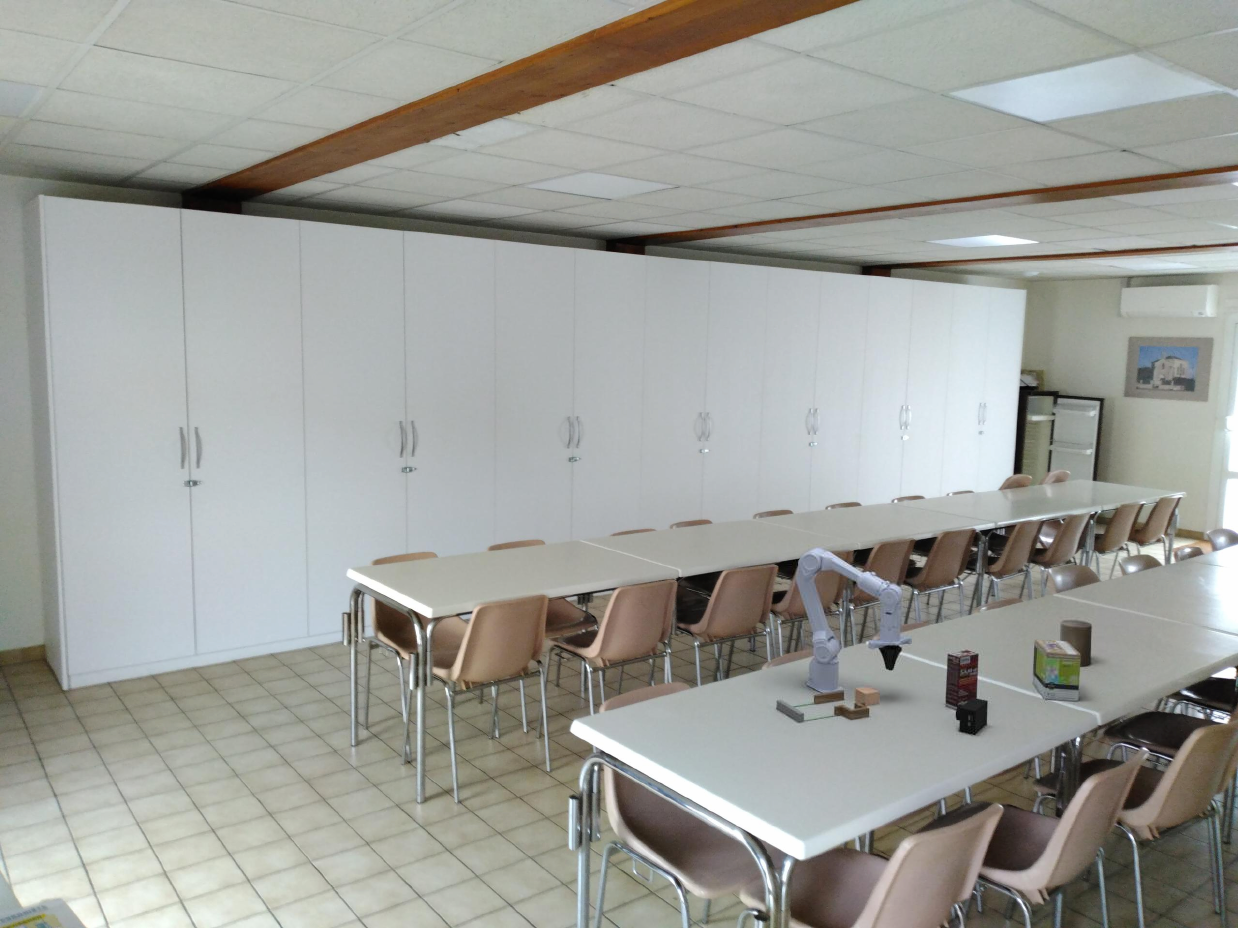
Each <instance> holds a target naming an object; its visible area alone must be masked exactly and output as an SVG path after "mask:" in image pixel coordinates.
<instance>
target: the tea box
mask: <svg viewBox="0 0 1238 928" xmlns="http://www.w3.org/2000/svg"><path fill="white" fill-rule="evenodd" d="M1033 645H1034V647H1033V661H1032V662H1033V664H1032V666H1033V667H1032V684H1033V686H1034V687H1035V689H1037V691H1038V692H1039V693H1040V695H1041V696H1042V697H1043V698H1044V700H1052V701H1053V700H1054V701H1068V702H1078V701H1079V691H1080V689H1079V687H1080V675H1081V666H1080V661H1081V654H1080V653H1079V652H1078V651H1077V650H1075V649H1074V648H1073V647H1072V646H1071V645H1070V644H1069V643H1068V642H1067V641H1060V640H1051V639H1050V640H1048V639H1034V644H1033Z"/></svg>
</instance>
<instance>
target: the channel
mask: <svg viewBox="0 0 1238 928" xmlns="http://www.w3.org/2000/svg"><path fill="white" fill-rule="evenodd" d="M844 700H845V690H844V691H836V692H830V693H818V694H813V703H814V705H820V704H826V703H827V704H828V703H833V702H839V701H844ZM853 705H854V707H853V709H852V708H850V707H848V706H846V705H845V704H839V705H834V706H833V714H834V715H835V717H837V716H842V717H844V718H846V719H848V720H850V721H853V720H860V719H863V718H869V717H870V707H869V706H865V702H863V701H862V702H856V701H855V702H854V704H853Z"/></svg>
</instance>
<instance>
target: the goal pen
mask: <svg viewBox="0 0 1238 928" xmlns="http://www.w3.org/2000/svg"><path fill="white" fill-rule="evenodd" d="M809 705H815V703H814V701H813V702H806V703H799V704H793V705H791V704H789V703H787V702H786V701H784V700H782V699H777V700H776V709H777V710H778V711H780V712H782V713H783V714H785V715H786V716H788V717H789V718H791V719H792V720H794V721H796V722H798V723H804V722H809V721H814V720H815V721H816V720H821V719H826V718H833V717H836V715H834V713H833V714H828V715H822V716H816V717H810V718H805V713H804V712H803V711H801V710H800V709H797V708H799V707H804V706H809Z"/></svg>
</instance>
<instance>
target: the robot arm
mask: <svg viewBox="0 0 1238 928" xmlns="http://www.w3.org/2000/svg"><path fill="white" fill-rule="evenodd" d="M832 570H833V571H835V572H836V573H838V574H841V575H842V576H843V577H846V578H848V579H850V580H852V581H854V582H856V585H857V587H858V589H860V590H862V591H863V592H866V593H867V594H868V595H870V596H872V597H874V598H876V599H878V600H879V602H880V608H881V609H880V629H879V630H880V632H879V634H880V637H879V638H876V639H874V640H870V641H869V640H868V643H867V644H868V645H867V647H868V648H869V649H871V650H875V649H878V651H879V652H880V654H881V656H882V659H883V663H884V667H885V669H886V670H887V671H894V669H895V665H896V662H897V660H898V657H899V655H900V654H901V652H902V651H903V647H901V645H912V640H913V638H912V637H910V636H908V635H907V636H901V615H902V613H901V612H902V611H901V601H902V599H903V596H904V594H903V590H902V587H900V586H899V585H898V584H896V583H891V582H890V581H889V580H886V581H885V580H884V579H882V578H880V577H878V576H877V573H876V572H873V571H871V572H870V571H864V572H862V571H860V570H859V569H857V568H855V567H854V566H853V565H850V563H847V562H846V561H845V560H843V559H841V558H839V557H838V556H837V555H836V554H834V553H832V552H831V551H829V550H826V549H825V548H823V547H819V546H818V547H817V546H816V547H814V548H812V549H811V550H808V551H807V552H805V553H803V555H801V557H800V558H799V560H798V567H797V570H796V575H795V582H796V585H797V588H798V591H799V594H800V597H801V601H802V604H803V606H804V608H805V612H806V615H807V619H808V621H809V625H810V627H811V628H810V629H811V631H812V641H811V642H812V645H813V650H812V653H813V658H812V659H811V660H810V661H809V664H808V682H806V685H807V686H808V687H810V688H812V689H813V690H816V691H817V692H819V693H820V694H823V693H830V692H836V691H844V692H845V689H844V688H843V687H841V686H839V666H840V663H839V661H840V660H839V657H838V654H840V652H841V649H842V645H841V643H840V641H839V639H838V638H836V636H835V632H834V631H833V630H832V629H831V628H830V625H829V623H828V619H827V617H826V613H825V611H824V608H823V604H822V602H821V599H820V595H819V593H818V590H817V586H816V583H815V578H816V577H817V576H818V574H819V572H820V571H832Z"/></svg>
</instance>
